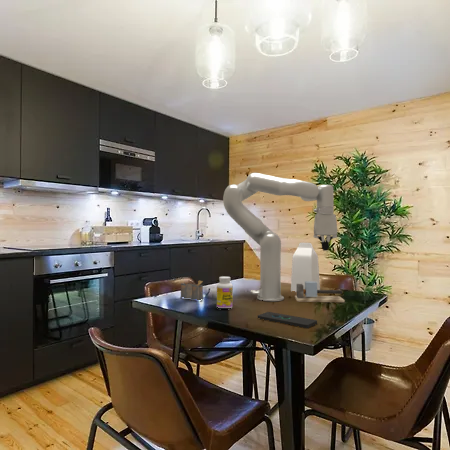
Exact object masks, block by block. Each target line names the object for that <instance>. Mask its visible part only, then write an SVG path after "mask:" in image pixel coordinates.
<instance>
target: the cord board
mask: <svg viewBox="0 0 450 450" xmlns="http://www.w3.org/2000/svg"><path fill="white" fill-rule="evenodd" d="M305 293H306V290H305V289H303V285H302V284H297V292H296V295H294V298H295V300H296V302H300V303H301V302H303V303H304V302H305V303H307V302H308V303H309V302H311V303H317V302H318V303H346V302H345V299H344V298H342V297H341V296H339V295H343V289H342V290H341V289H337V290H336V289H335V290H334V289H329V290H328V289H320V290H317V294H323V295H317V297H306V296H305ZM325 294H328V295H325ZM329 294H330V295H329ZM331 294H332V295H331ZM334 294H335V295H334ZM333 295H334V296H333ZM336 295H337V296H336Z"/></svg>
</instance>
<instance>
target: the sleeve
mask: <svg viewBox="0 0 450 450" xmlns="http://www.w3.org/2000/svg"><path fill="white" fill-rule="evenodd" d="M305 290H306V293H305V294H304V296H306V297H317V296H318V293H317V282H316V281H305Z"/></svg>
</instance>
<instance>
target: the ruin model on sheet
mask: <svg viewBox="0 0 450 450" xmlns="http://www.w3.org/2000/svg"><path fill="white" fill-rule="evenodd" d="M203 290H204V285H203V280H198V281H197V284H196V283H190V282H188V283H185V282H181V283H180V298H181V297H184V298H191V299H197V300H201V299H203V296H204V294H203V293H204V292H203Z"/></svg>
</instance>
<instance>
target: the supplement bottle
mask: <svg viewBox="0 0 450 450" xmlns="http://www.w3.org/2000/svg"><path fill="white" fill-rule="evenodd" d="M218 281H219V283H217V284H216V308H217V307H218V308H231V309H233V303H234V302H233V300H234V298H233V296H234V293H233V289H234V285H233V284H232V283H231V277H230V276H219V278H218ZM218 308H217V309H218Z"/></svg>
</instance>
